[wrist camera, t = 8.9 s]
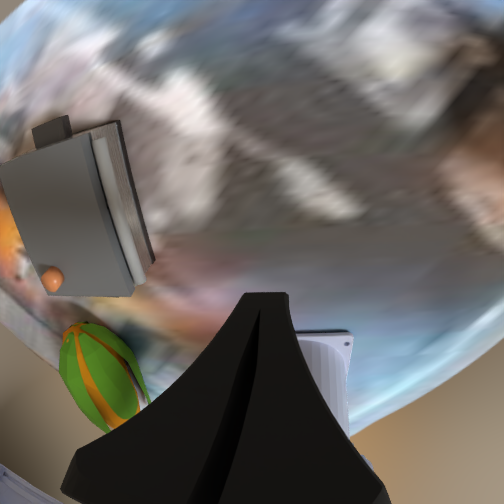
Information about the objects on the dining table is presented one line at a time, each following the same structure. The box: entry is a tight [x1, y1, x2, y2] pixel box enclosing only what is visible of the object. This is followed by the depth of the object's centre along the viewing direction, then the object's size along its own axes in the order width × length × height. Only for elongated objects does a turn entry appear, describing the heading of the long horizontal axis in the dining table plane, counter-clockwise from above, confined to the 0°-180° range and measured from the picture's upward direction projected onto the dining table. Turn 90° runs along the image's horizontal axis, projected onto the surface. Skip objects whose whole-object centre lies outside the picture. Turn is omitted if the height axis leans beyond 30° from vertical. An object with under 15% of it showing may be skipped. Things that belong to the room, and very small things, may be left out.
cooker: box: [12, 115, 155, 286], centre depth 18 cm, size 13×8×3 cm, turn 6°
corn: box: [59, 321, 151, 434], centre depth 28 cm, size 7×8×20 cm
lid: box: [0, 133, 146, 297], centre depth 16 cm, size 10×8×2 cm
